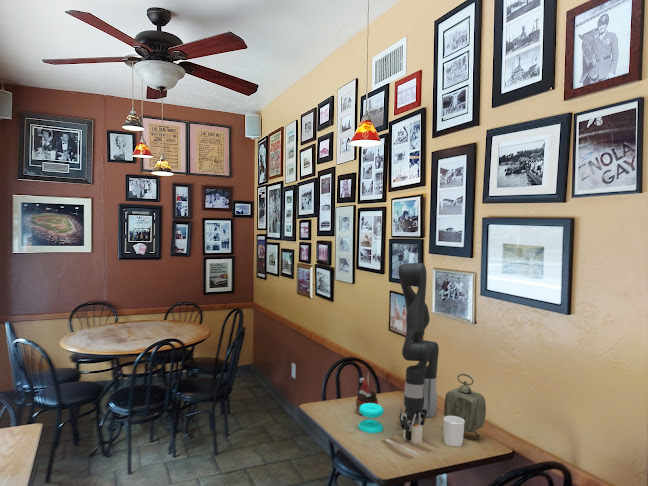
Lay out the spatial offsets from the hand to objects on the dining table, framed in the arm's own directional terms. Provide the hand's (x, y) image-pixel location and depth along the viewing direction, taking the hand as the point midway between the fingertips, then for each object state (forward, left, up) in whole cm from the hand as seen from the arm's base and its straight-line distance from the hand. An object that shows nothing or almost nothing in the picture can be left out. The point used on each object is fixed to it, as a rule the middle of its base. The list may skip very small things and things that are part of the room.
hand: (412, 438), depth 170 cm
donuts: (+6, -17, -2) cm, 18 cm away
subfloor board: (+5, +2, -2) cm, 6 cm away
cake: (-6, -32, -2) cm, 33 cm away
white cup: (-12, +10, -2) cm, 16 cm away
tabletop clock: (-23, +7, -2) cm, 24 cm away
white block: (0, 0, -1) cm, 1 cm away
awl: (-4, -10, -2) cm, 11 cm away
